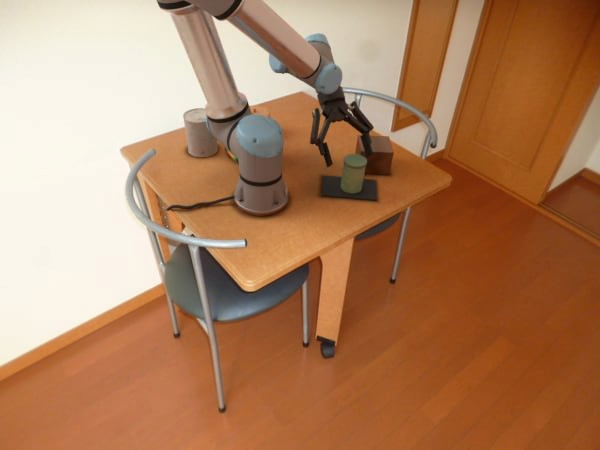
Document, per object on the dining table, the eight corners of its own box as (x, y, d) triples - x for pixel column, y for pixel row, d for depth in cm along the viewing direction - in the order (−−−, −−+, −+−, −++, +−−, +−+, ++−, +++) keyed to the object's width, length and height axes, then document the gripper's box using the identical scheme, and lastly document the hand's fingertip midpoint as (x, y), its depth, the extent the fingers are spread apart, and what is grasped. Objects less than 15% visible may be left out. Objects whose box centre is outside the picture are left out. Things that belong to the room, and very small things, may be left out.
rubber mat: (321, 196, 121) (321, 194, 121) (322, 176, 129) (323, 175, 129) (376, 200, 121) (376, 199, 121) (374, 181, 128) (374, 179, 128)
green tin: (339, 192, 122) (343, 165, 116) (339, 179, 127) (343, 152, 121) (362, 194, 122) (367, 167, 116) (361, 181, 127) (366, 154, 121)
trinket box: (272, 126, 151) (272, 102, 145) (267, 141, 143) (267, 116, 137) (243, 124, 152) (242, 99, 146) (236, 138, 144) (235, 113, 138)
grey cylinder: (183, 154, 135) (177, 119, 127) (195, 140, 142) (191, 106, 134) (210, 159, 133) (206, 124, 125) (222, 144, 140) (219, 110, 132)
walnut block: (357, 173, 131) (361, 151, 126) (354, 156, 139) (357, 134, 134) (389, 174, 131) (393, 152, 126) (384, 157, 139) (388, 136, 134)
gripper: (358, 89, 128) (378, 155, 128) (285, 101, 118) (307, 173, 118) (371, 78, 121) (392, 148, 121) (294, 90, 111) (317, 167, 111)
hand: (350, 160), depth 119 cm, fingers open, 13 cm apart
